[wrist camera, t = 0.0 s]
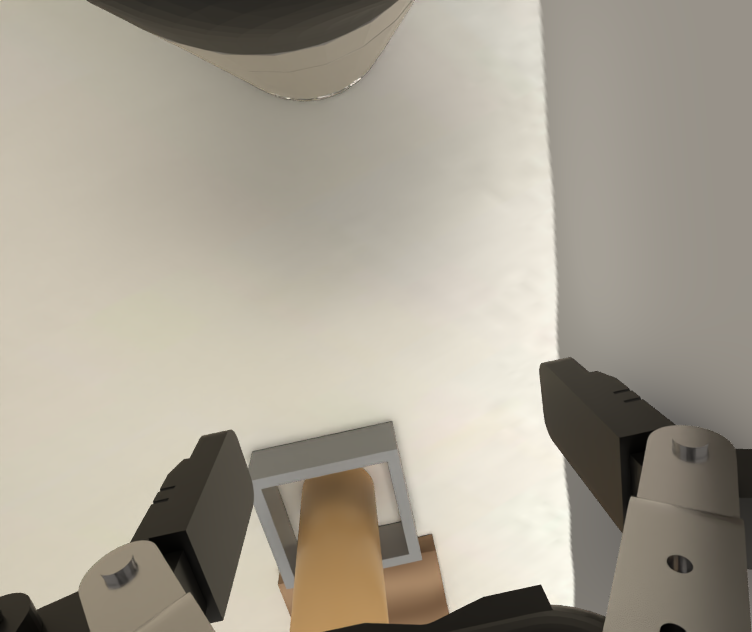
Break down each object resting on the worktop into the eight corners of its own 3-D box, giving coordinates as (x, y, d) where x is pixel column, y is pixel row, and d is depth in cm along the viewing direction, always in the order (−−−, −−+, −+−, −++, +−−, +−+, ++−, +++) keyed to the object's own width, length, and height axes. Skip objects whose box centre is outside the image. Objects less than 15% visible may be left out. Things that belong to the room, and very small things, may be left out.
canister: (294, 470, 34) (268, 687, 21) (366, 455, 34) (386, 662, 21) (312, 525, 35) (299, 754, 23) (380, 510, 35) (406, 731, 23)
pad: (280, 567, 37) (278, 584, 35) (431, 534, 37) (435, 550, 35) (312, 650, 41) (311, 668, 39) (449, 620, 41) (453, 637, 39)
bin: (252, 451, 33) (244, 482, 30) (392, 421, 33) (397, 448, 30) (290, 554, 36) (286, 589, 34) (415, 526, 36) (422, 560, 34)
